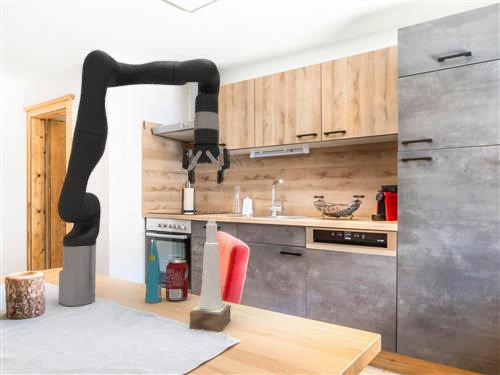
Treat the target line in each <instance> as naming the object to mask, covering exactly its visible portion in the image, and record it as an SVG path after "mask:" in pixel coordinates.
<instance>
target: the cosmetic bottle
mask: <svg viewBox="0 0 500 375" xmlns="http://www.w3.org/2000/svg"><path fill="white" fill-rule="evenodd" d="M216 222H217V219H213V218H212V219H207V223H206V225H205V227H206V229H205V236H206V237H205V242H204V245H203V246H204V247H203V257H202V258H203V259H202V260H203V262H202V276H201V277H202V278H201V290H200V296H199V302H198V305H199V308H201V309H204V310H216V309H220V308H222V306H223V304H224V303H223V298H222V290H221V288H222V287H221V276H220V275H221V271H220V245H219V244H220V243H219V242H218V223H216ZM222 303H223V304H222Z"/></svg>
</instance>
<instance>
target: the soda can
mask: <svg viewBox="0 0 500 375" xmlns="http://www.w3.org/2000/svg"><path fill="white" fill-rule="evenodd" d="M167 262H168V263H167V265H166V268H165V271H166V272H165V299H167V300H168V301H171V302H182V301H184V300H186V299H187V298H188V296H189V293H188V292H189V289H188V288H189V287H188V286H189V266H188V263H187V260H186V259H183V258H181V259H180V258H175V259H169V260H168V261H167Z"/></svg>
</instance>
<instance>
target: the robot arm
mask: <svg viewBox="0 0 500 375" xmlns="http://www.w3.org/2000/svg"><path fill="white" fill-rule="evenodd" d="M82 63H83V64H82V69H81V85H80V96H79V97H80V98H79V103H78V108H77V113H76V120H75V124H74V130H73V136H72V141H71V149H70V155H69V158H68V163H67V169H66V173H65V177H64V181H63V183H62V187H61V190H60V194H59V198H58V203H57V213H58V216H59V218H60V219H61V220H62V221H63V222H64V223H66V224H72V228H71V230H70V231H69V232H67V233H66V234H65V235H64V236H63V237H62V260H61V262H62V263H61V264H62V265H61V266H62V267H61V270H59V272H58V301H57V302H58V304H61V305H63V306H67V307H77V306H84V305H89V304H91V303H94V302H95V301H96V272H97V271H96V270H97V268H96V266H97V263H96V262H97V239H98V237H99V235H100V227H101V212H102V211H101V210H102V209H101V208H102V207H101V206H102V205H101V202H100V201H101V200H100V199H99V198H98V196H97V195H96V194H94V193H92V192H89V191H88V192H87V187H88V182H89V179H90V177H91V175H92V173H93V171H94V169H96V166H97V165H98V164H99V162H100V161H101V159H102V158H103V155H104V153H105V151H106V144H107V140H108V134H109V133H108V132H109V125H108V117H107V110H106V96H107V91H108V88H117V87H125V86H135V85H140V86H141V85H153V86H154V85H155V86H160V85H161V86H178V87H179V86H185V85H187V84H188V83H197V95H196V96H195V100H194V120H193V147H192V149H187V148H184V149H183V150H182V162H181V167H182V169H184V170H186V171H187V174H188V175H187V176H188V177H187V181H188V182H189V184H191V185H194V184H195V183H196V181H195V180H196V176H195V175H196V172H195V170H196V168H197V167H198V166H200V165H201V164H202V165H203V164H213V165H214V166H215V167H216V169H217V172H216V173H217V174H216V183H217V184H218V185H221V184H222V183H224V180H225V179H224V177H225V176H224V175H225V170H230V169H231V158H230V157H231V155H230V149H228V148H226V147H224V148H220V128H221V127H220V119H219V118H220V117H219V110H220V109H219V105H220V104H219V94H220V87H221V76H220V72H219V69H218V66H217V64H216V63H214V62H213V61H212V60H210V59H206V58H193V59H188V60H183V61H178V60H154V61H149V62H146V63H141V64H140V63H138V64H133V63H125V62H121V61H117V60H116V59H115V58H113V56H111V55H110V54H108V53H107V52H105V51H104V50H101V49H94V50H92V51H90V52H89V53H87V55H86V56H85V58H84V60H83V62H82ZM220 154H221V155H220ZM192 155H193V156H194V157H193V159H192V160H191V163H190V158H191V157H192ZM219 156H222V157H223V165H222V163H221V161H220V159H219V158H218V157H219Z"/></svg>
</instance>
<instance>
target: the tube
mask: <svg viewBox="0 0 500 375" xmlns="http://www.w3.org/2000/svg"><path fill="white" fill-rule="evenodd" d="M152 239H153V240H152V244H151V247H150V248H151V249H150V253H149V256H148V257H149V258H148V264H147V265H148V266H147V270H146V272H147V273H146V285H145V298H144V299H145V302H146V303H148V304H155V303H159V302H162V294H163V293H162V276H161V265H160V258H159V251H158V246H157V242H156V240H155V237H152Z"/></svg>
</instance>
